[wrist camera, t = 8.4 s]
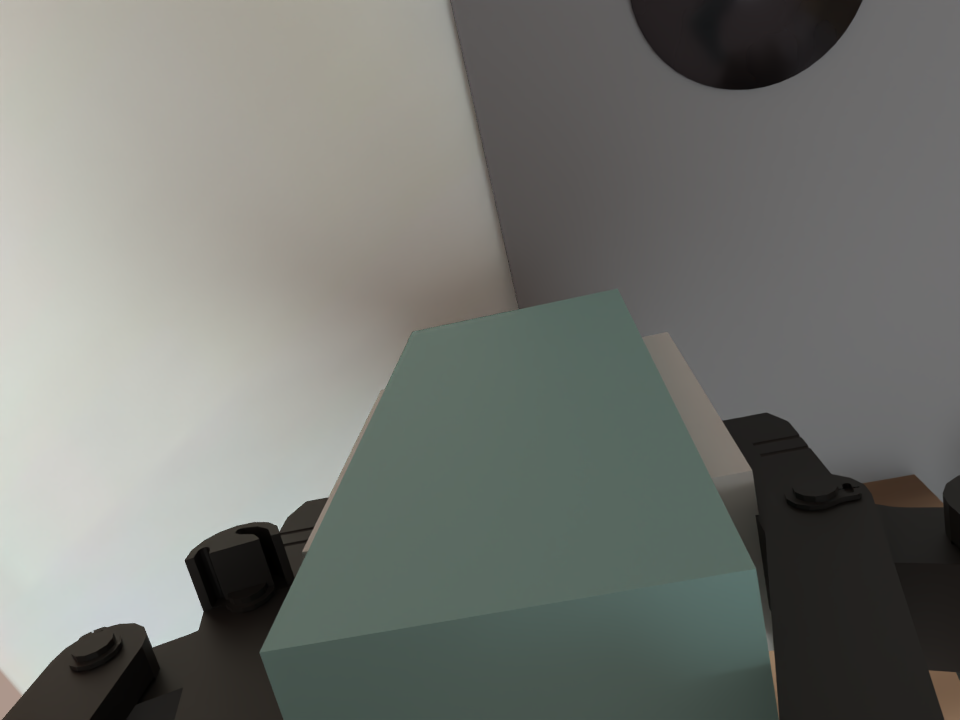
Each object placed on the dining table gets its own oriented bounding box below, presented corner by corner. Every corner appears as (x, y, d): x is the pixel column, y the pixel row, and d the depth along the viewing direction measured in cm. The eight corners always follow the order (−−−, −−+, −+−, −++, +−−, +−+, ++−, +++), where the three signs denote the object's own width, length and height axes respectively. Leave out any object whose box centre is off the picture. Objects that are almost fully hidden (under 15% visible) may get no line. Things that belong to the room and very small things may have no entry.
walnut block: (712, 509, 26) (754, 604, 21) (914, 474, 25) (1004, 564, 20) (738, 669, 27) (782, 790, 23) (927, 641, 27) (1014, 761, 22)
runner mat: (423, -127, 21) (421, -131, 21) (1026, -294, 19) (1036, -302, 19) (646, 879, 31) (647, 889, 31) (1058, 830, 29) (1066, 840, 29)
